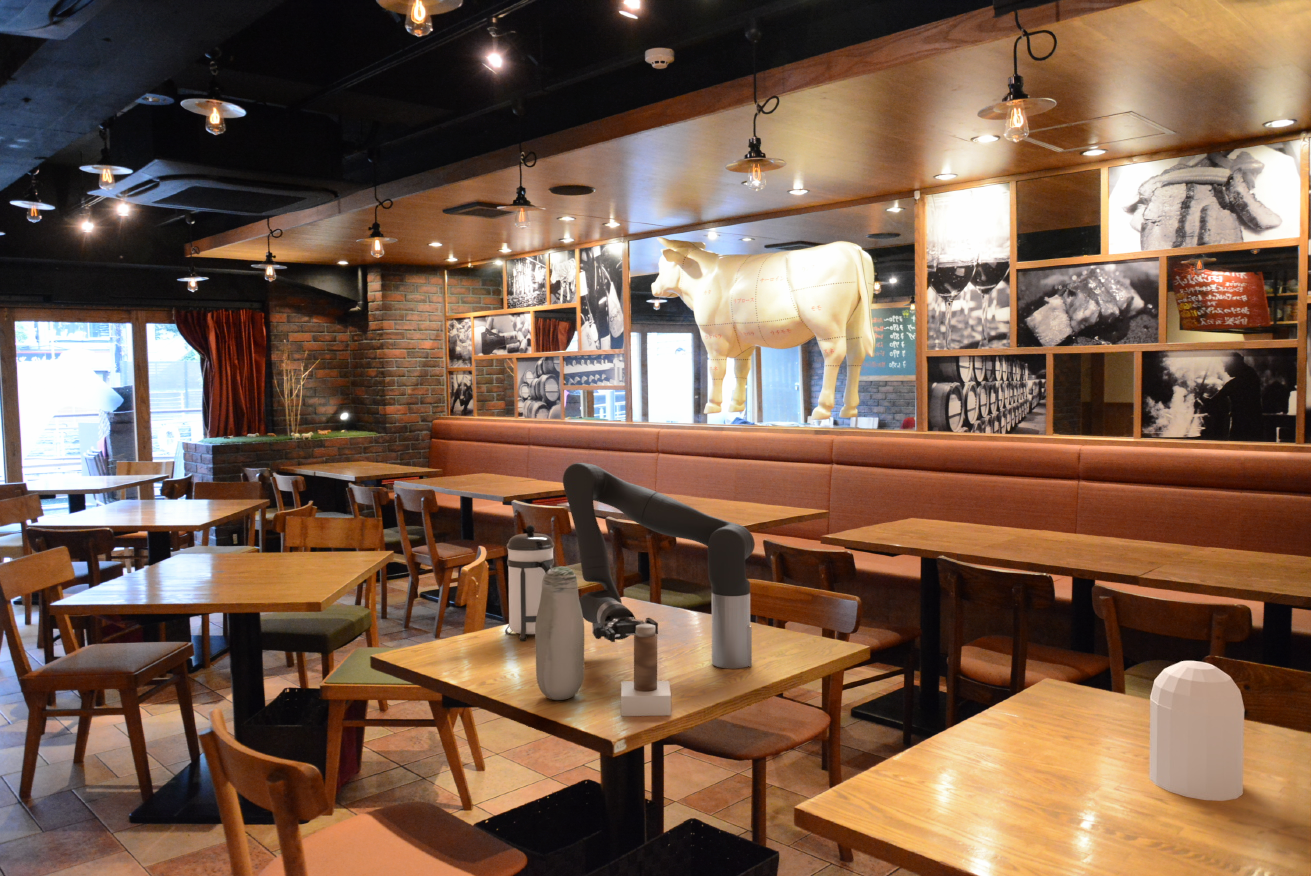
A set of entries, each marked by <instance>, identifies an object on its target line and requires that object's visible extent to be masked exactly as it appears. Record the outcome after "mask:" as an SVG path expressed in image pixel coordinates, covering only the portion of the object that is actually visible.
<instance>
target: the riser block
mask: <svg viewBox="0 0 1311 876" xmlns="http://www.w3.org/2000/svg"><path fill="white" fill-rule="evenodd" d="M620 684H621V687H620V688H621V690H620V691H621V692H620V706H621V707H620V708H621V709H620V710H621V712H620V714H621V715H620V716H621V717H640V716H641V717H645V716H649V717H651V716H653V717H654V716H657V717H658V716H672V695H671V694H672V693H671V685H670V681H669V680H657V689H656V690H654V691H649V692H642V691H637V690H635V689H634V680H632V681H630V680H629V681H627V680H624V681H621V683H620Z"/></svg>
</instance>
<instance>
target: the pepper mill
mask: <svg viewBox="0 0 1311 876" xmlns="http://www.w3.org/2000/svg"><path fill="white" fill-rule="evenodd" d="M633 681H634V689H635V690H637V691H642V692H649V691H654V690H656V689H657V681H658V634H655V625H651V624H640V625H637V626H636V634H634V635H633Z"/></svg>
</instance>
